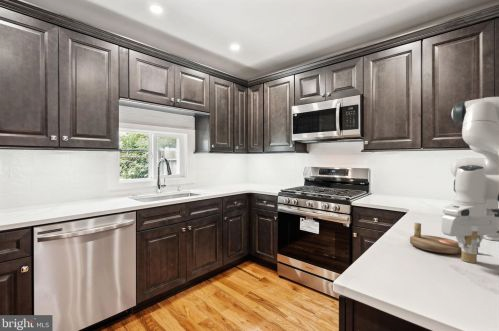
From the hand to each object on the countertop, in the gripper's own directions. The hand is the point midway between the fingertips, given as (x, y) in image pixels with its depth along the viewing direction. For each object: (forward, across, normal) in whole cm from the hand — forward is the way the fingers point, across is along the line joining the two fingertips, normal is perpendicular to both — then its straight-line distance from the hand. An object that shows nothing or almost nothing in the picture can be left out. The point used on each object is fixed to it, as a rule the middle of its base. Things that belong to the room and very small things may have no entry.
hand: (469, 247), depth 91 cm
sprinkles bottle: (+5, 0, 0) cm, 5 cm away
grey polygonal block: (+5, -10, -8) cm, 14 cm away
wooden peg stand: (+5, 0, -14) cm, 15 cm away
